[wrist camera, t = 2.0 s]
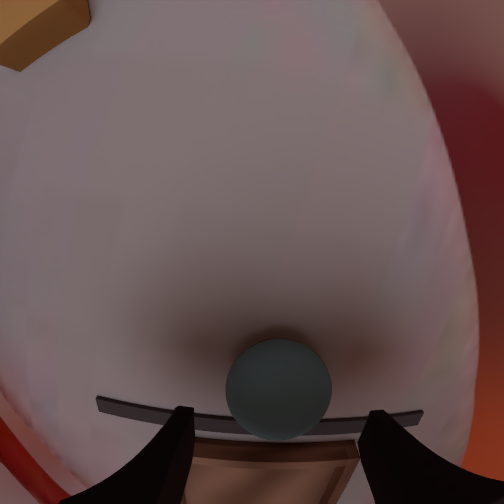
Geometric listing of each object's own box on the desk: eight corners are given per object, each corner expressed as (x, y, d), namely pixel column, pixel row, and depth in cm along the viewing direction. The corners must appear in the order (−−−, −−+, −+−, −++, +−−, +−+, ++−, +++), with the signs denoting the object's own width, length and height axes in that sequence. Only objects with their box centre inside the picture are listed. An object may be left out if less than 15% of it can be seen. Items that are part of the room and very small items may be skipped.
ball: (328, 323, 16) (355, 379, 11) (312, 397, 17) (328, 459, 12) (231, 318, 16) (223, 375, 11) (227, 394, 17) (220, 457, 12)
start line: (422, 410, 18) (423, 412, 17) (416, 422, 18) (417, 424, 18) (97, 395, 17) (95, 398, 17) (100, 408, 17) (99, 411, 17)
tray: (354, 439, 18) (360, 458, 16) (315, 518, 21) (318, 532, 19) (167, 433, 18) (162, 451, 16) (180, 514, 21) (178, 528, 19)
